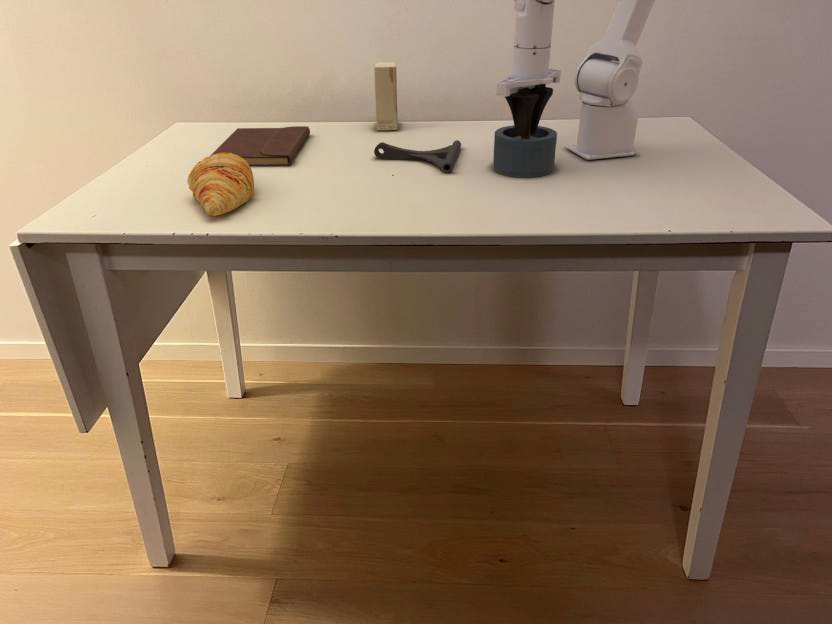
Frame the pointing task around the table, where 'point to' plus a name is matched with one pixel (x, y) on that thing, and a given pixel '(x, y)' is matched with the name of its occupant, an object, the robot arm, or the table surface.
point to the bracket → (421, 154)
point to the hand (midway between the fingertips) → (525, 134)
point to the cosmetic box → (386, 95)
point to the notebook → (266, 145)
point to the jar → (524, 152)
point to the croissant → (221, 182)
